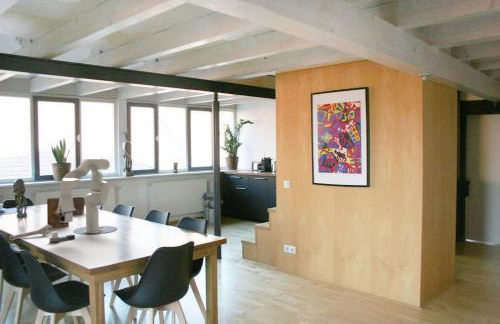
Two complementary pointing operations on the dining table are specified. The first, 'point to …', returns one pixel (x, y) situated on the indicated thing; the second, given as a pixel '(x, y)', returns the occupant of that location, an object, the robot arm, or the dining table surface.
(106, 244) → the dining table surface
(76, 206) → the plant pot
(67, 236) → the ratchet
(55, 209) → the book
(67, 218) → the cube with metal dome
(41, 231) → the wrench
